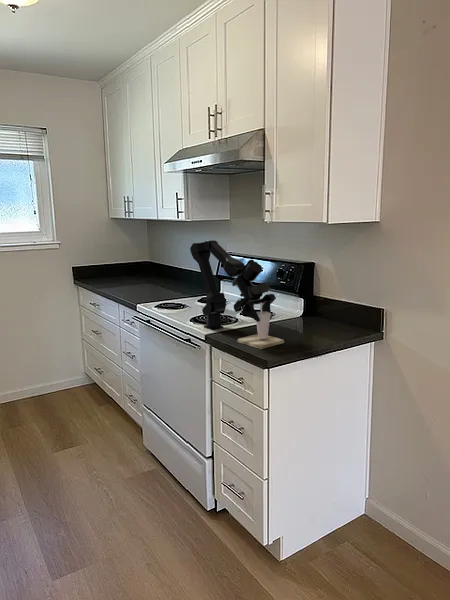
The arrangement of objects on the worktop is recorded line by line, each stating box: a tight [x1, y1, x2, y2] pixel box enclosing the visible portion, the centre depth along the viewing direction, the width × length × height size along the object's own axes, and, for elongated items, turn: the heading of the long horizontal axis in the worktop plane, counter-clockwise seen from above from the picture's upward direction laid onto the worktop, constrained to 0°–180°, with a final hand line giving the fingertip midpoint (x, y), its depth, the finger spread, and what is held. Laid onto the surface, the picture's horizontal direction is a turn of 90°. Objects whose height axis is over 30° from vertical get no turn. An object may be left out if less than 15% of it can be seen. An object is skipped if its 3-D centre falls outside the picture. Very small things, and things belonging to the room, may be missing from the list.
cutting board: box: [236, 333, 285, 350], centre depth 180 cm, size 13×13×1 cm
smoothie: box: [255, 303, 272, 339], centre depth 178 cm, size 6×6×14 cm
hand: (265, 320), depth 177 cm, fingers closed on smoothie, 6 cm apart
